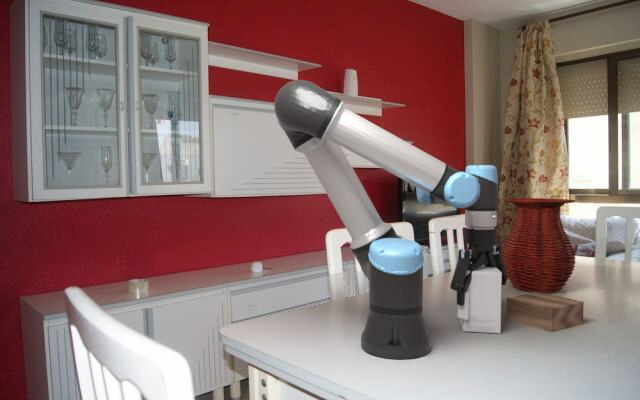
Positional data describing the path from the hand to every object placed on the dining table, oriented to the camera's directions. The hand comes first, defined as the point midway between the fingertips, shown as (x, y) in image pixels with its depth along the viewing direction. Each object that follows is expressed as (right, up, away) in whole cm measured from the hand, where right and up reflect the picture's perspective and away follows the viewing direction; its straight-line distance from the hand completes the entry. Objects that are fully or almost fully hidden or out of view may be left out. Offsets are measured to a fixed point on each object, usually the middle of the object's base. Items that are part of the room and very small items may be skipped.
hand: (479, 313), depth 124 cm
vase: (+33, -2, +43) cm, 55 cm away
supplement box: (0, -4, 0) cm, 4 cm away
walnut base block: (+18, -4, +5) cm, 20 cm away
